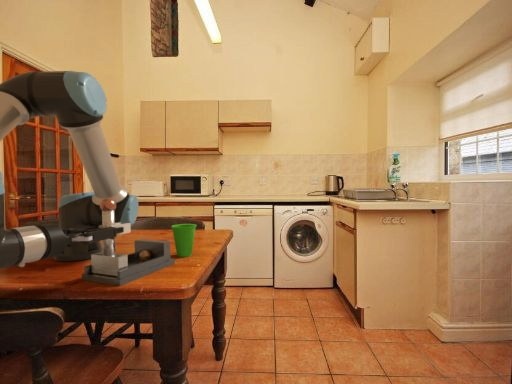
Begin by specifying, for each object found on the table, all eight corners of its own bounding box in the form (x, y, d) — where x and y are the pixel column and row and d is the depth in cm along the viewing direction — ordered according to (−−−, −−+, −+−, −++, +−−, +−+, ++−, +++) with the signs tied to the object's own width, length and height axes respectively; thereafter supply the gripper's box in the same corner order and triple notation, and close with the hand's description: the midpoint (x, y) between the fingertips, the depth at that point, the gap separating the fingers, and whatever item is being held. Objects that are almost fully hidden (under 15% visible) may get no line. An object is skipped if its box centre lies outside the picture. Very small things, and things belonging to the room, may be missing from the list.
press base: (120, 285, 72) (119, 256, 71) (81, 279, 77) (81, 252, 77) (174, 263, 92) (174, 240, 92) (141, 259, 97) (141, 238, 97)
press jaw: (117, 276, 73) (115, 198, 73) (90, 272, 77) (88, 198, 76) (129, 272, 77) (127, 197, 77) (102, 268, 81) (101, 197, 80)
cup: (200, 252, 107) (199, 223, 106) (192, 258, 98) (191, 227, 97) (177, 252, 107) (176, 223, 107) (167, 258, 98) (166, 227, 98)
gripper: (14, 257, 63) (104, 238, 85) (62, 263, 57) (146, 241, 79) (13, 224, 63) (104, 213, 85) (61, 227, 57) (146, 215, 79)
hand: (124, 227), depth 82 cm, fingers closed on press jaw, 3 cm apart
